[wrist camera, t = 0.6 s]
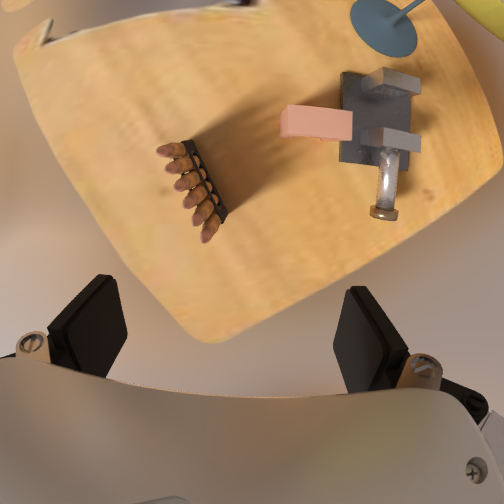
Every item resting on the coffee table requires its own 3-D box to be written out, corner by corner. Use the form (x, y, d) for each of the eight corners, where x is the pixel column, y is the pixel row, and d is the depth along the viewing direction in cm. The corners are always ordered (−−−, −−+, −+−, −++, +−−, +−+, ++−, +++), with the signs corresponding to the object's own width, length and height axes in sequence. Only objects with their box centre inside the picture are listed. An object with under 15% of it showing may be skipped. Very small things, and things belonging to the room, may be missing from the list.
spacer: (280, 114, 30) (288, 104, 23) (330, 118, 30) (352, 111, 23) (279, 137, 31) (287, 134, 24) (329, 141, 31) (351, 140, 24)
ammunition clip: (228, 214, 35) (217, 247, 24) (215, 220, 35) (198, 255, 24) (192, 139, 31) (161, 136, 20) (179, 146, 32) (143, 147, 20)
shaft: (371, 137, 28) (384, 137, 25) (395, 142, 28) (410, 142, 25) (365, 212, 32) (376, 219, 29) (389, 214, 32) (402, 221, 29)
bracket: (340, 73, 28) (361, 57, 21) (406, 88, 28) (436, 80, 21) (338, 161, 32) (360, 166, 25) (404, 170, 32) (434, 177, 25)
